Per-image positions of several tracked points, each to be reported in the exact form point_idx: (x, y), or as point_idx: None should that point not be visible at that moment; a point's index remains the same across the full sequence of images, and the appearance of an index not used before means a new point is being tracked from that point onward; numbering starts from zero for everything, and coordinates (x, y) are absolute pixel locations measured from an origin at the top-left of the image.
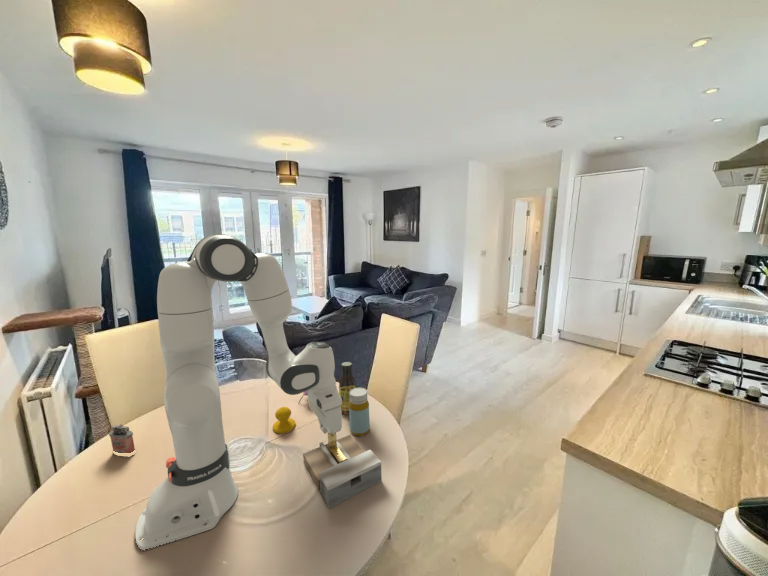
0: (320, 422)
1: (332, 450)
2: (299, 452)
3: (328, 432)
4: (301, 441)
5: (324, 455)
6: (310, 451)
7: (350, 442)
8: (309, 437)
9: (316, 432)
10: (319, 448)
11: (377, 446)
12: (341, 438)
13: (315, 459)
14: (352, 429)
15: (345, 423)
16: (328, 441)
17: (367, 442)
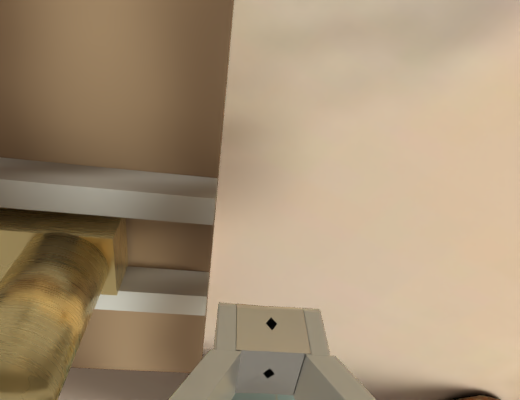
0: (327, 388)
1: (1, 240)
2: (383, 21)
3: (34, 381)
4: (489, 102)
5: (75, 158)
6: (212, 82)
7: (118, 348)
8: (470, 172)
9: (469, 231)
10: (198, 167)
11: (86, 391)
12: (199, 329)
13: (61, 65)
14: (257, 393)
15: (380, 372)
16: (20, 286)
17: (146, 376)
